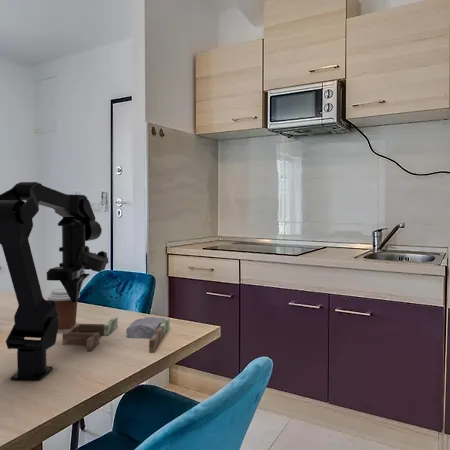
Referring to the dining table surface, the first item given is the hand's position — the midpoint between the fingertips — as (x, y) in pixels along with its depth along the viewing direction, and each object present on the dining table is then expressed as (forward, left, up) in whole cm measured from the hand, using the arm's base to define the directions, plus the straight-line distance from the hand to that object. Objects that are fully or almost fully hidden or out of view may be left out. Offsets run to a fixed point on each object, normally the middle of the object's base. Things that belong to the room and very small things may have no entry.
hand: (74, 302), depth 107 cm
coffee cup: (+16, +10, -12) cm, 23 cm away
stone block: (+14, -15, -12) cm, 24 cm away
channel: (+8, -9, -12) cm, 17 cm away
